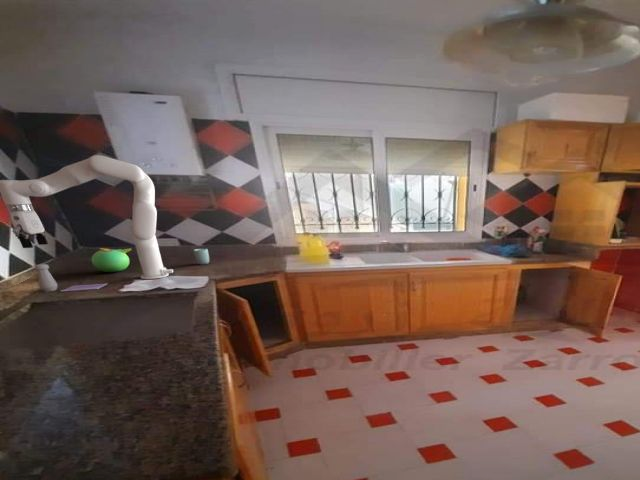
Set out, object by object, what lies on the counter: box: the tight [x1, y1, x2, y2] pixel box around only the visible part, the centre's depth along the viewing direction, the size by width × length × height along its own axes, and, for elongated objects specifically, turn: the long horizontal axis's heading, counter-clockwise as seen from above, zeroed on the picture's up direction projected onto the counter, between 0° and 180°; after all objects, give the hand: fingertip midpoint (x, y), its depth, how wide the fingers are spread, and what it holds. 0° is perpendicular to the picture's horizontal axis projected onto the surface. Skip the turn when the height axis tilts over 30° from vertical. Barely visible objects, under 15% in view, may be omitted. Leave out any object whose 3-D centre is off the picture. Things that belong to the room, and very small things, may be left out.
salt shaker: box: [34, 263, 59, 293], centre depth 153 cm, size 6×6×13 cm
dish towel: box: [59, 282, 109, 293], centre depth 160 cm, size 14×10×1 cm
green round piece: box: [91, 247, 132, 273], centre depth 190 cm, size 18×17×15 cm
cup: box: [193, 248, 210, 266], centre depth 212 cm, size 8×8×10 cm
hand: (36, 246), depth 149 cm, fingers open, 9 cm apart
